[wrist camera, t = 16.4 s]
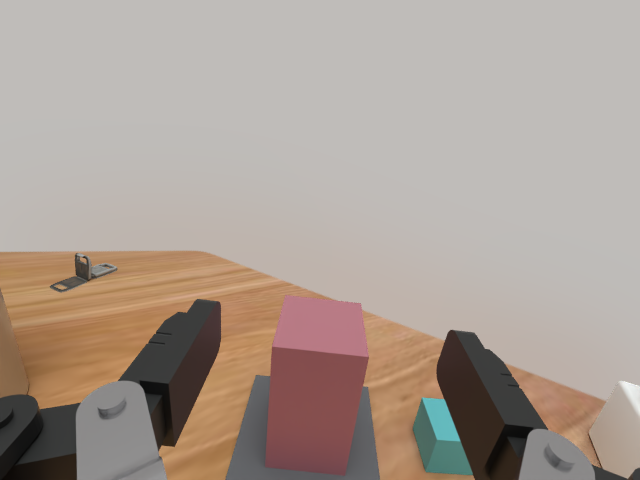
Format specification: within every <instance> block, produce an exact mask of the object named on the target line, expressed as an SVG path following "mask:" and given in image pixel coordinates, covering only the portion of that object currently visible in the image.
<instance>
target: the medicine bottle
mask: <svg viewBox="0 0 640 480" xmlns="http://www.w3.org/2000/svg"><path fill="white" fill-rule="evenodd" d="M589 435H590V438H591V440H592V443H593V446H594V448H595V451H596V453H597V456H598V458H599V461H600V463H601V466H602V468H603V469H604V470H607V471H609V472H612V473H614V474H617V475H619V476H622V477H624V478H627V479H628V478H629V477H630V475H631V474H632V473H633V472H634V470H635V469H637V468H640V386H638V385H635V384H631V383H628V382H625V381H619V382H618V383H617V385H616V386H615V388H614V390H613V391H612V393H611V395H610V396H609V398H608V400H607V402H606V403H605V405H604V407H603V408H602V410H601V412H600V414H599V415H598V417H597V419H596V420H595V422H594V424H593V425H592V427H591V429H590V431H589Z"/></svg>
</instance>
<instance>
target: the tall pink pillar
mask: <svg viewBox="0 0 640 480" xmlns="http://www.w3.org/2000/svg"><path fill="white" fill-rule="evenodd" d="M368 359H369V355H368V348H367V341H366V335H365V328H364V321H363V314H362V308H361V304H360V303H352V302H343V301H334V300H325V299H316V298H307V297H297V296H288V295H285V299H284V303H283V307H282V311H281V314H280V318H279V322H278V326H277V330H276V334H275V337H274V341H273V345H272V357H271V374H270V391H269V408H268V425H267V443H266V460H265V467H267V468H277V469H286V470H295V471H305V472H314V473H323V474H333V475H342V476H345V473H346V468H347V463H348V458H349V453H350V448H351V443H352V438H353V433H354V428H355V423H356V418H357V413H358V408H359V403H360V398H361V393H362V388H363V383H364V378H365V373H366V368H367V364H368Z"/></svg>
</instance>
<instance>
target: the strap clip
mask: <svg viewBox="0 0 640 480" xmlns="http://www.w3.org/2000/svg"><path fill="white" fill-rule="evenodd" d="M80 257H83V258H85V259H86V260H87V264H86V263H84V262H81V261H80ZM91 266H92V265H91V261H90V258H89V257H88V256H85V255H82V254H80V253H76V255H75V268H76V275H77V277H71V278H69V279H66V280H63V281H60V282H57V283H55V284H53V285H51V286H50V288H51V289H54V290H56V291H58V292H65V291H68V290H71V289H73V288H76V287H78V286H80V285H82V284H85V283H87V281H89V279H91V278H93V279H94V278H99V277H102V276H105V275H107V274H110V273H112V272H114V271H116V270H117V267H116V266H113V265H110V264H108V263H104V264H98V265H96V266H93V267H91ZM105 267H109V268H110V269H107V268H105ZM58 284H60V285H62V286H65V287H67V289H64V290H61V289H58V288H56V287H54V286H56V285H58Z"/></svg>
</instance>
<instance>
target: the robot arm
mask: <svg viewBox="0 0 640 480" xmlns="http://www.w3.org/2000/svg"><path fill="white" fill-rule="evenodd" d="M220 342H221V305H220V302H218V301H210V300H201V299H197V300H196V301H195V302H194V303H193V305H192V306H191V308H190V309H189V310H188V312H187V313H183V312H178V313H176V314H175V315H173V316H171V317H170V318H168V319H167V320H165V321H164V323H163V324H162V325H161V326H160V328H159V329H158V330H157V332H156V334H154V335H153V337H152V338H151V339H150V340H149V343H148V344H146V346H145V347H144V348H143V349H142V351H141V352H140V353H139V355H138V356H137V357H136V358H135V360H134V361H133V362H132V363H131V365H130V366H129V367H128V369H127V370H126V371H125V372H124V374H123V375H122V376H121V378H120V379H119V380H118V381H117V382H112V383H109V384H106V385H104V386H102V387H100V388H98V389H96V390H95V391H93V392H92V393H90V394H89V395H88V396H87V397H86V398H85V399H84V400H83V401H82V402H81V403H77V404H71V405H65V406H58V407H52V408H46V409H39V406H38V403H37V401H36V399H35V398H33V397H32V396H29V395H26V394H27V392H28V387H29V382H28V379H27V375H26V372H25V368H24V365H23V362H22V358H21V355H20V352H19V348H18V344H17V341H16V338H15V334H14V331H13V328H12V325H11V321H10V318H9V315H8V312H7V308H6V305H5V302H4V299H3V295H2V292H1V289H0V480H167V477H166V473H165V468H164V465H163V461H162V458H161V457H160V456H159V452H158V451H159V449H160V447H161V445H163V446H172V447H175V445H176V443H177V441H178V438H179V436H180V434H181V432H182V430H183V428H184V425H185V423H186V421H187V419H188V417H189V415H190V412H191V410H192V408H193V406H194V404H195V402H196V400H197V397H198V395H199V393H200V391H201V389H202V387H203V384H204V382H205V380H206V378H207V376H208V374H209V372H210V369H211V367H212V365H213V363H214V361H215V359H216V356H217V354H218V351H219V347H220ZM437 380H438V383H439V386H440V389H441V391H442V394H443V397H444V399H445V402H446V404H447V407H448V410H449V412H450V415H451V418H452V420H453V423H454V425H455V428H456V431H457V433H458V436H459V439H460V441H461V444H462V447H463V449H464V452H465V454H466V457H467V460H468V462H469V465H470V468H471V470H472V473H473V475H474V478H475V480H640V468H637V469H635V470H634V472H633V473H632V474H631V475H630V477H629V478H628V479H627V478H624V477H622V476H619V475H617V474H614V473H612V472H609V471H607V470H604V469H601V468H599V467H596V466H594V465H591V463H590V461H589V460H588V458H587V457H586V456H585V455H584V453H583V452H582V451H581V450H580V449H579V448H578V447H577V446H575V445H574V444H573V443H572V442H570V441H569V440H568V439H566V438H564V437H563V436H561V435H559V434H557V433H555V432H552V431H549V430H548V428H547V427H546V425H545V424H544V422H543V421H542V419H541V418H540V416H539V415H538V413H537V412H536V410H535V409H534V407H533V406H532V404H531V403H530V401H529V400H528V398H527V397H526V395H525V394H524V392H523V391H522V389H520V388H519V385H518V383H517V382H516V380H515V379H514V377H512V374H511V373H510V371H509V370H508V368H507V367H506V365H505V364H504V362H503V361H502V360H501V359H500V358H498V357H497V356H496V355H495V354H494V353H493V352H492V351H490V350H488V349H485V348H484V347H483V345H482V344H481V342H480V340H479V339H478V337H477V336H476V335H475V333H472V332H464V331H455V330H450V331H449V332H448V334H447V337H446V340H445V343H444V346H443V349H442V352H441V355H440V357H439V360H438V364H437Z"/></svg>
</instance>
